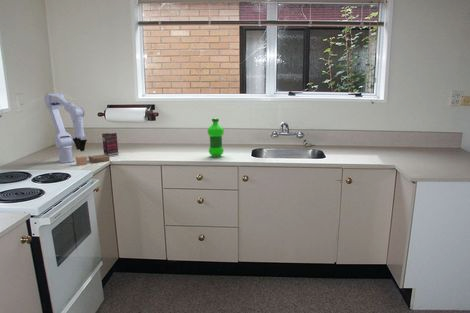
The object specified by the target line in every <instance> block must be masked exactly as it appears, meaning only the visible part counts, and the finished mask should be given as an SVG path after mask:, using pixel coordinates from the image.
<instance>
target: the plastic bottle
mask: <svg viewBox="0 0 470 313" xmlns="http://www.w3.org/2000/svg"><path fill="white" fill-rule="evenodd" d="M211 122H212V124H211V125H210V126H209V127H208V128H207V135H208V136H209V147H208V153H209V155H210V156H212V157H213V158H220V157H222V155H223V154H224V152H225V151H224V147H223V135H224V134H225V133H224V132H225V131H224V130H225V129H224V128H223V127H222V126H221V125H220V124H219V122H220V120H219V118H218V117H217V118H216V117H215V118H212V119H211Z"/></svg>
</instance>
